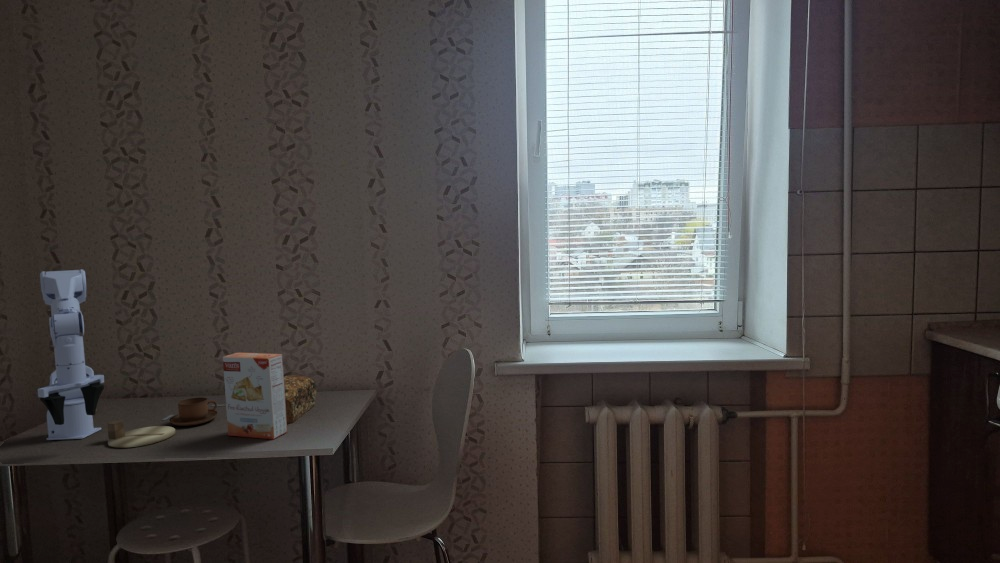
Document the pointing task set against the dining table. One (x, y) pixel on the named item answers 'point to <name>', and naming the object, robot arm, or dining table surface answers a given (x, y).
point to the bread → (298, 396)
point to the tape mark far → (219, 405)
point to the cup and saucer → (194, 412)
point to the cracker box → (255, 395)
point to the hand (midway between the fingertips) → (75, 419)
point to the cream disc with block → (136, 435)
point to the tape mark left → (167, 417)
